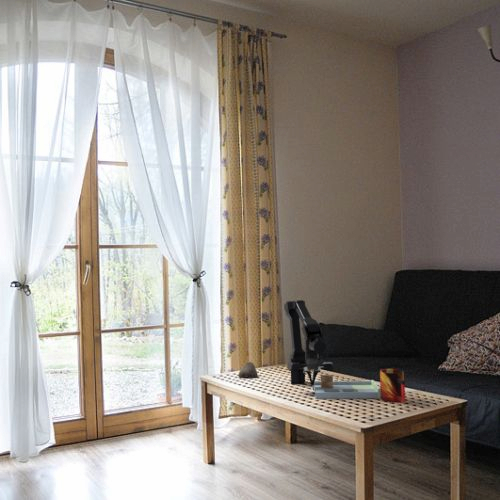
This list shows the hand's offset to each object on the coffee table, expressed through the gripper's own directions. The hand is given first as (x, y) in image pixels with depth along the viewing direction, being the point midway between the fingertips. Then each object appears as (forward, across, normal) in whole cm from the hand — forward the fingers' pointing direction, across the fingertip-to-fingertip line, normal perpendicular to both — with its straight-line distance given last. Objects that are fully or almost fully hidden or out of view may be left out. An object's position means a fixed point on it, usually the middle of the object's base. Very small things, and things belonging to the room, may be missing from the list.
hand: (312, 385), depth 268 cm
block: (+1, +6, 0) cm, 7 cm away
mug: (+3, +34, -17) cm, 38 cm away
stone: (+3, -31, +35) cm, 47 cm away
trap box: (+3, +14, -4) cm, 15 cm away
